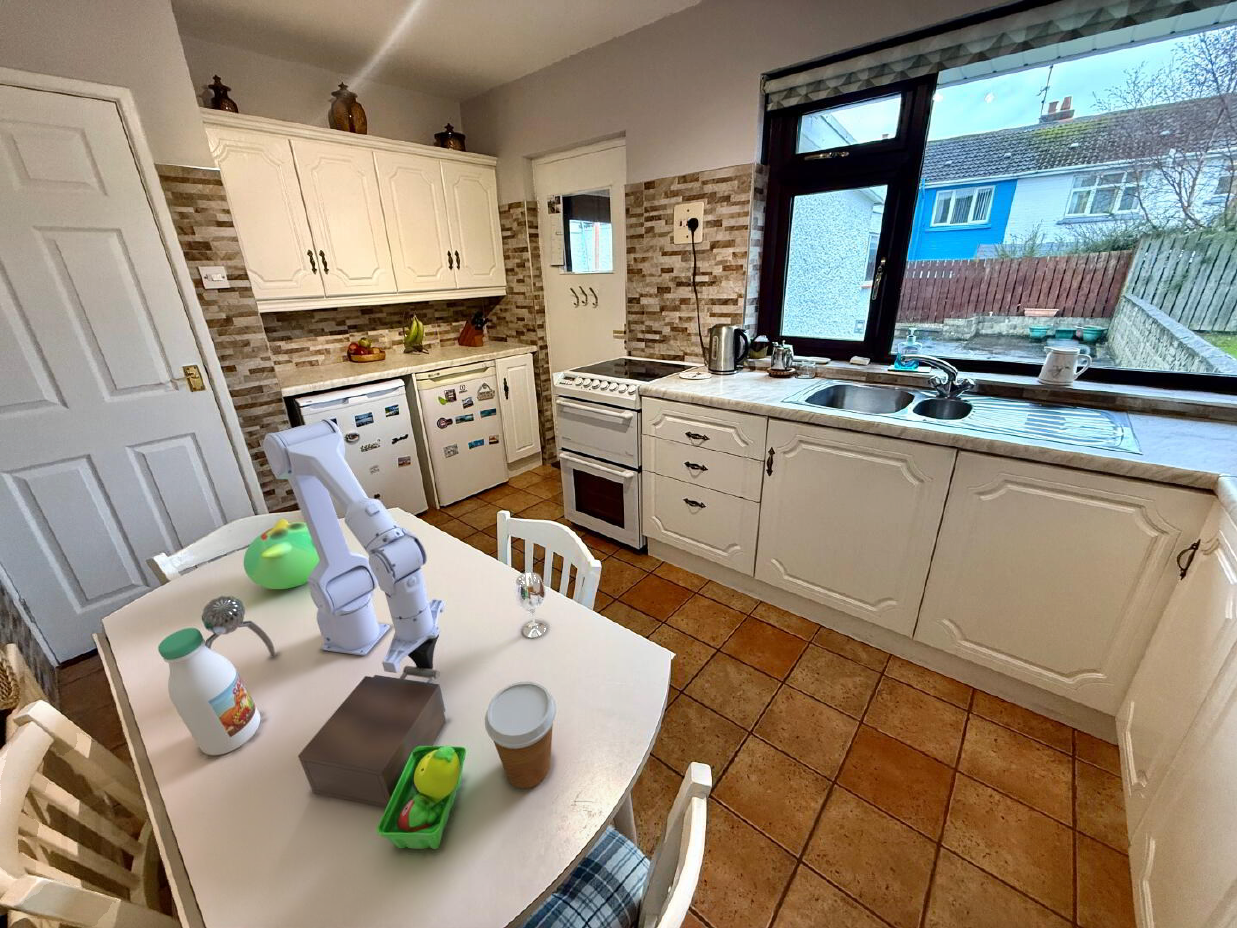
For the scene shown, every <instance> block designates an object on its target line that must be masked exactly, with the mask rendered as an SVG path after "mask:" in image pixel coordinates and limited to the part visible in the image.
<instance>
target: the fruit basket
mask: <svg viewBox="0 0 1237 928" xmlns="http://www.w3.org/2000/svg"><path fill="white" fill-rule="evenodd" d="M466 755H467V749H466V748H465V747H464V746H450V745H432V746H419V747H417V748H415V749H414V750H413V751H412V753H411V755H410V758H409V760H408V762H407V764H406V766H405V769H404V771H403V773H402V775H401V777H400V779H399V782H398V784H397V786H396V788H395V790H394V792H393V795H392V797H391V799H390V801H389V803H388V806H387V808H385V810H384V812H383V814H382V816H381V818H380V820H379V823H378V825H377V827H376V830H377V831H376V832H377V833H378V834H379V835H380V836H382V837H383V838H386V839H387V840H389V841H390V843H392V844H393V845H394V846H396V848H398V849H404V848H409V849H417V850H419V849H420V850H421V849H423V850H424V849H433V850H436V849H438V848H439V847H440V844H441V841H442V838H443V831H444V830H445V828H446V827H447V824H448V819H449V818H450V811H451V809H452V808H453V805H454V802H455V800H456V795H457V791H458V789H459V787H460V784H461V782H462V776H463V770H464V762H465V760H466Z"/></svg>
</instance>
